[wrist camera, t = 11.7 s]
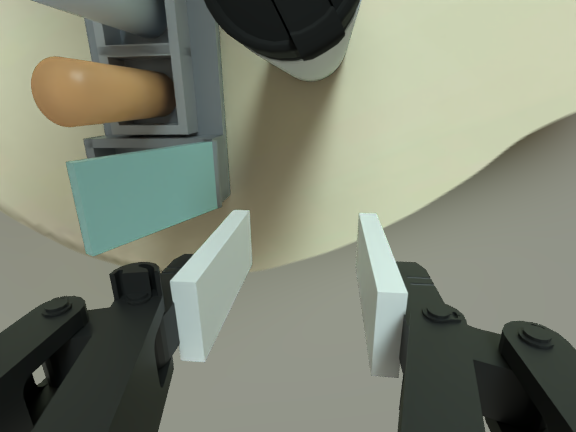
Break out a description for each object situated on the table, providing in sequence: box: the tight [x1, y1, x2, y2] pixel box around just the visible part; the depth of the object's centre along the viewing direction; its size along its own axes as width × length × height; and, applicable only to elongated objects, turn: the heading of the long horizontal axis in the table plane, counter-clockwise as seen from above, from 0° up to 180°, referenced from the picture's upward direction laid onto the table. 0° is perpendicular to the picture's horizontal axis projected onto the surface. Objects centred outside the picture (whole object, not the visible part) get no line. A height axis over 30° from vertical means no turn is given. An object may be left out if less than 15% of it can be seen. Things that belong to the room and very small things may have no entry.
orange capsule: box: [31, 57, 176, 127], centre depth 26 cm, size 4×4×12 cm
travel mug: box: [204, 0, 361, 81], centre depth 20 cm, size 6×7×20 cm
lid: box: [66, 141, 222, 256], centre depth 25 cm, size 6×12×1 cm
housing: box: [83, 0, 231, 202], centre depth 31 cm, size 20×12×4 cm, turn 1°
